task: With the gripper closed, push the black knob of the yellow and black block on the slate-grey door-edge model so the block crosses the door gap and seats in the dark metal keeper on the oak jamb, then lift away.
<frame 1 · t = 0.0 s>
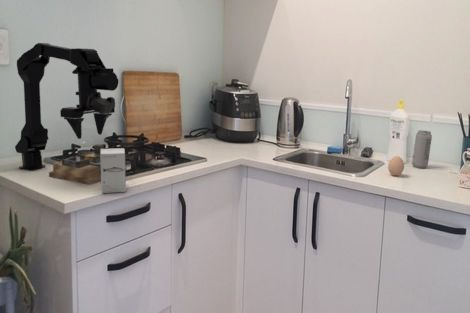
hand: (90, 136, 139), 15 cm above the countertop, fingers open, 9 cm apart
egg: (394, 176, 160), on the countertop
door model: (86, 174, 147), on the countertop
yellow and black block: (94, 152, 149), point 7 cm above the countertop, slide at 0.0 cm
energy drink can: (419, 167, 174), on the countertop
supplement box: (113, 190, 132), on the countertop
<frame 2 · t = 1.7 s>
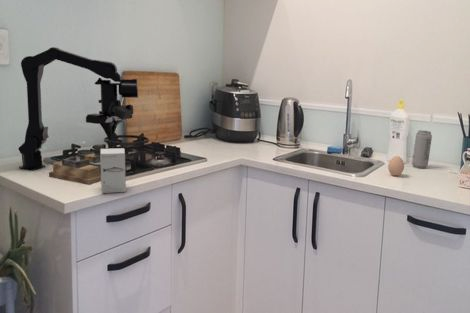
hand: (110, 139, 156), 10 cm above the countertop, fingers closed
nothing on the countertop moved.
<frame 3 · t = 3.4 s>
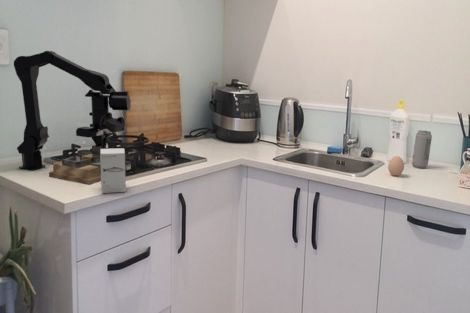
hand: (101, 152, 152), 6 cm above the countertop, fingers closed
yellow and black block: (92, 153, 148), point 7 cm above the countertop, slide at 1.2 cm, touching gripper
everything else where it was.
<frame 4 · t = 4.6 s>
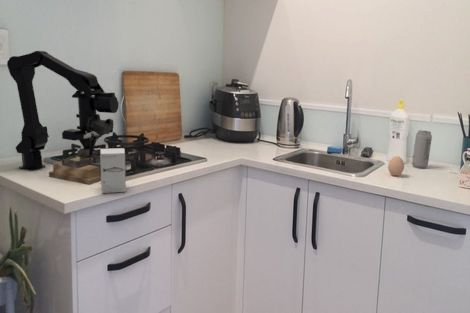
hand: (89, 155, 147), 6 cm above the countertop, fingers closed
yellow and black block: (79, 156, 143), point 7 cm above the countertop, slide at 7.1 cm, touching gripper
everything else where it was.
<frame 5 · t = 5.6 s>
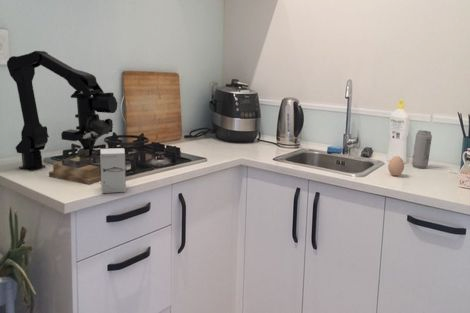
hand: (89, 155, 147), 6 cm above the countertop, fingers closed
nothing on the countertop moved.
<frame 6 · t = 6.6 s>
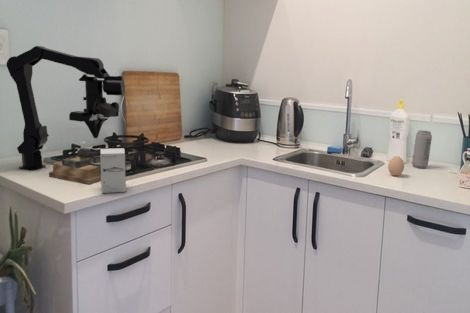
hand: (95, 138, 151), 12 cm above the countertop, fingers closed
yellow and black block: (79, 156, 143), point 7 cm above the countertop, slide at 7.0 cm
everything else where it was.
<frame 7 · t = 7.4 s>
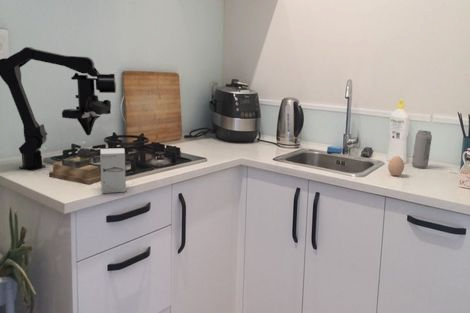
hand: (88, 135, 155), 12 cm above the countertop, fingers closed
nothing on the countertop moved.
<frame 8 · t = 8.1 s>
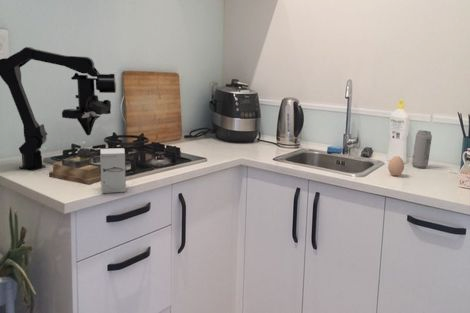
hand: (88, 135, 155), 12 cm above the countertop, fingers closed
nothing on the countertop moved.
at the end: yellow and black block slide at 7.0 cm; supplement box moved 0.2 cm from its start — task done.
